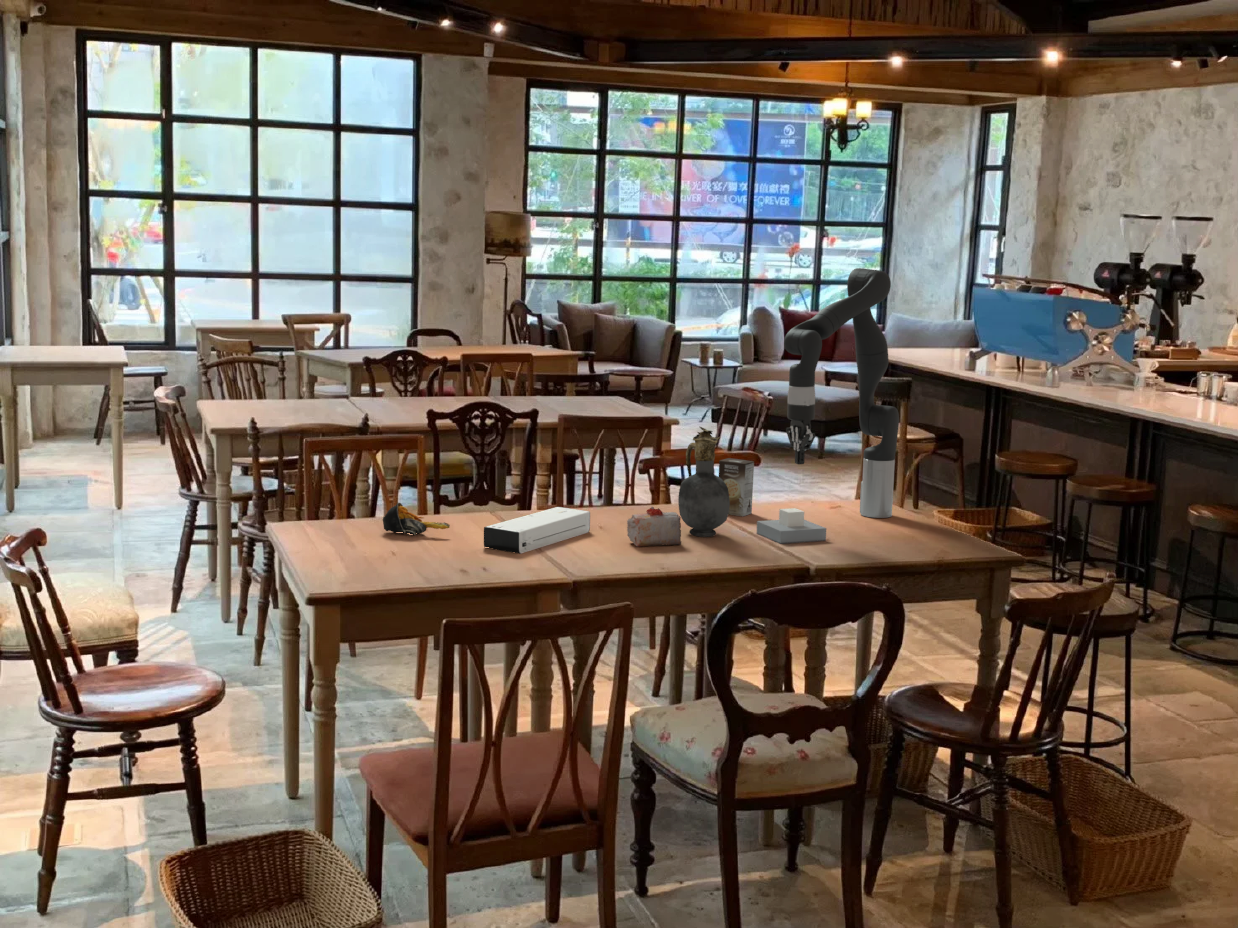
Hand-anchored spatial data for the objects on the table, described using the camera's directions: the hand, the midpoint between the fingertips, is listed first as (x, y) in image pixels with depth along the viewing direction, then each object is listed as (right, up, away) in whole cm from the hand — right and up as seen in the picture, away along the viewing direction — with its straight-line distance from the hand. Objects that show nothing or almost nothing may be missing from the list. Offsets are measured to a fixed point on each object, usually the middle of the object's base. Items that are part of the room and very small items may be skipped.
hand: (799, 463), depth 369 cm
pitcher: (-28, -19, +1) cm, 34 cm away
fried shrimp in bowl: (-106, -20, -8) cm, 108 cm away
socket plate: (-3, -20, -2) cm, 21 cm away
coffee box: (-15, -15, +30) cm, 37 cm away
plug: (-3, -20, -2) cm, 20 cm away
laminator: (-71, -21, -12) cm, 75 cm away
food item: (-41, -22, -14) cm, 48 cm away
